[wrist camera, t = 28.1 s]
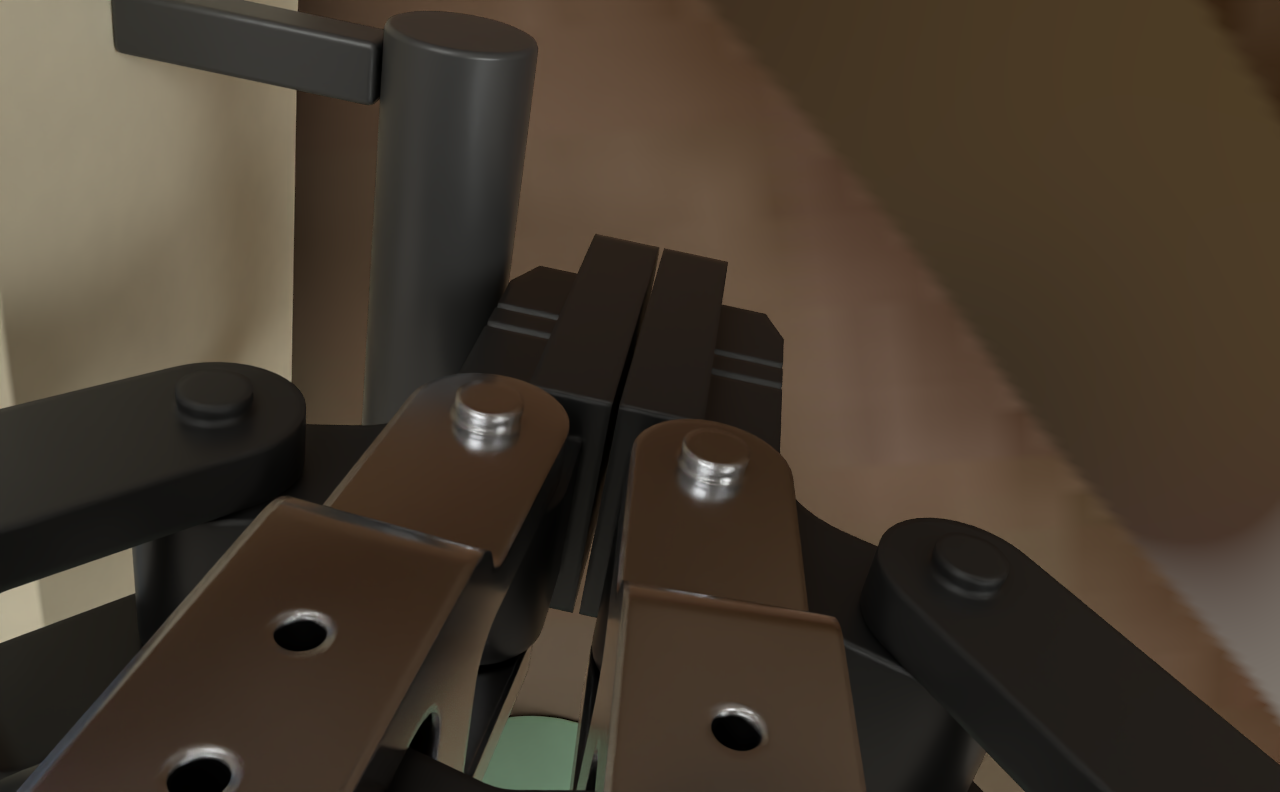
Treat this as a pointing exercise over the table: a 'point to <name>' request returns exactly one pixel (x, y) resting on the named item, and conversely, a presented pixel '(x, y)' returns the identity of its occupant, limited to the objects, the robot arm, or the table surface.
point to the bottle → (533, 754)
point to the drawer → (236, 200)
